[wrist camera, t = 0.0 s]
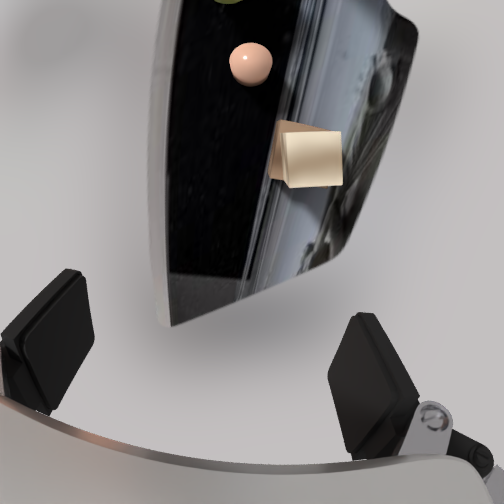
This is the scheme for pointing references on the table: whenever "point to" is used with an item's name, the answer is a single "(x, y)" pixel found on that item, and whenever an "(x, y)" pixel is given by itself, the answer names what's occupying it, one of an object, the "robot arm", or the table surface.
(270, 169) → the walnut block
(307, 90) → the table surface
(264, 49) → the peach rounded solid
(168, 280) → the table surface
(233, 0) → the plant pot
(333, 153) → the beech block
